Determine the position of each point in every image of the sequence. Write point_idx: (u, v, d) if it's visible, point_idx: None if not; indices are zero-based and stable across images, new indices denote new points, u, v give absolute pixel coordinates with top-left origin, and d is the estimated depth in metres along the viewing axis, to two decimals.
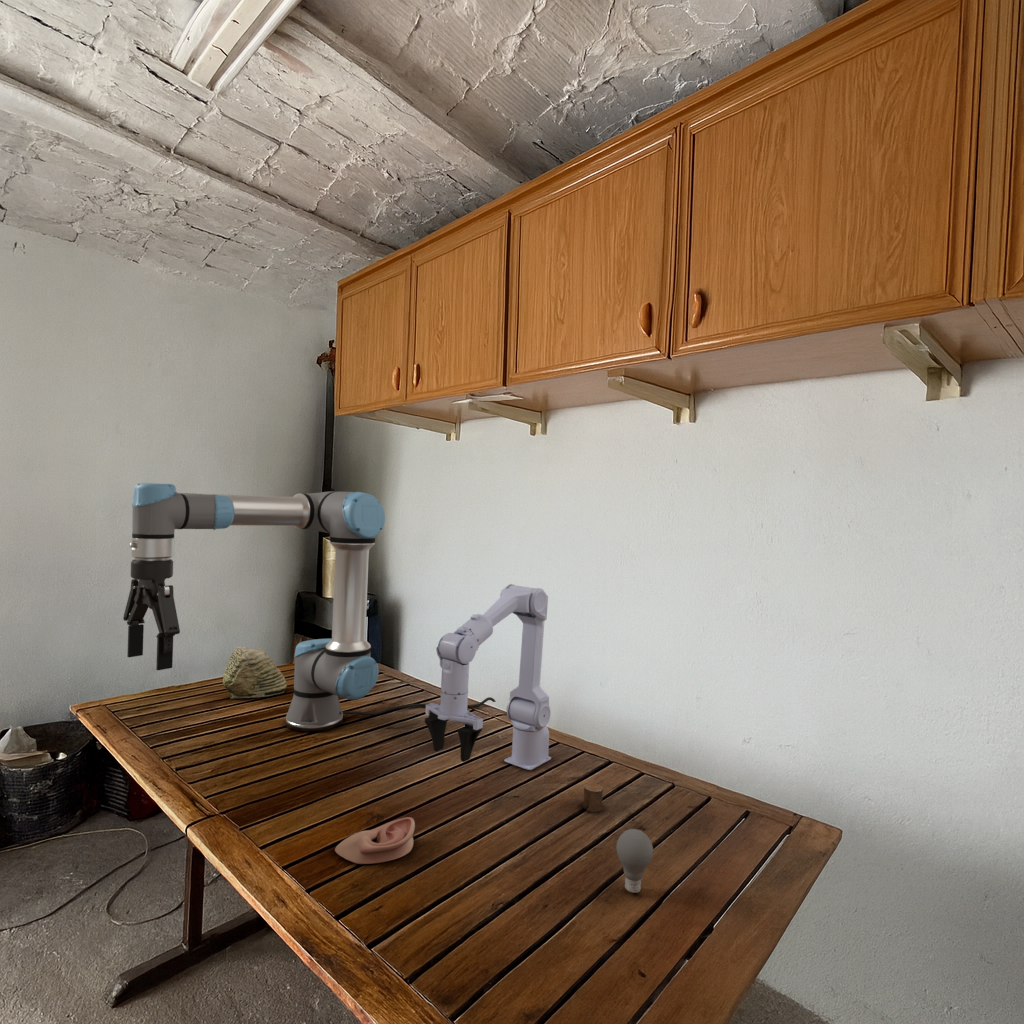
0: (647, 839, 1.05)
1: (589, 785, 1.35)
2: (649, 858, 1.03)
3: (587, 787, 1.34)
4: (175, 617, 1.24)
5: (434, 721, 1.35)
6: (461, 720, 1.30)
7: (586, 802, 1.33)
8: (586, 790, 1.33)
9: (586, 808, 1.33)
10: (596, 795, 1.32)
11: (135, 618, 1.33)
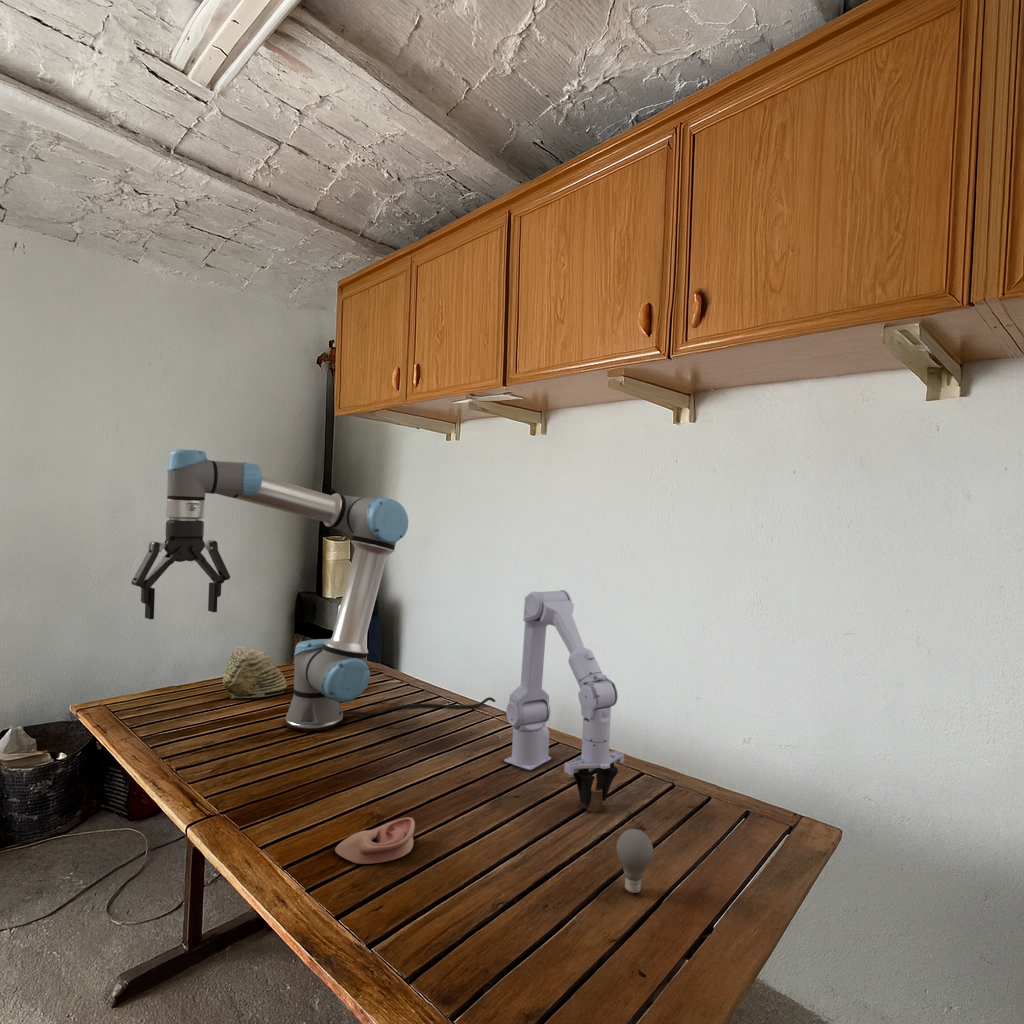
0: (647, 839, 1.05)
1: None
2: (649, 858, 1.03)
3: None
4: None
5: None
6: (614, 760, 1.34)
7: None
8: None
9: (586, 808, 1.33)
10: (596, 795, 1.32)
11: None
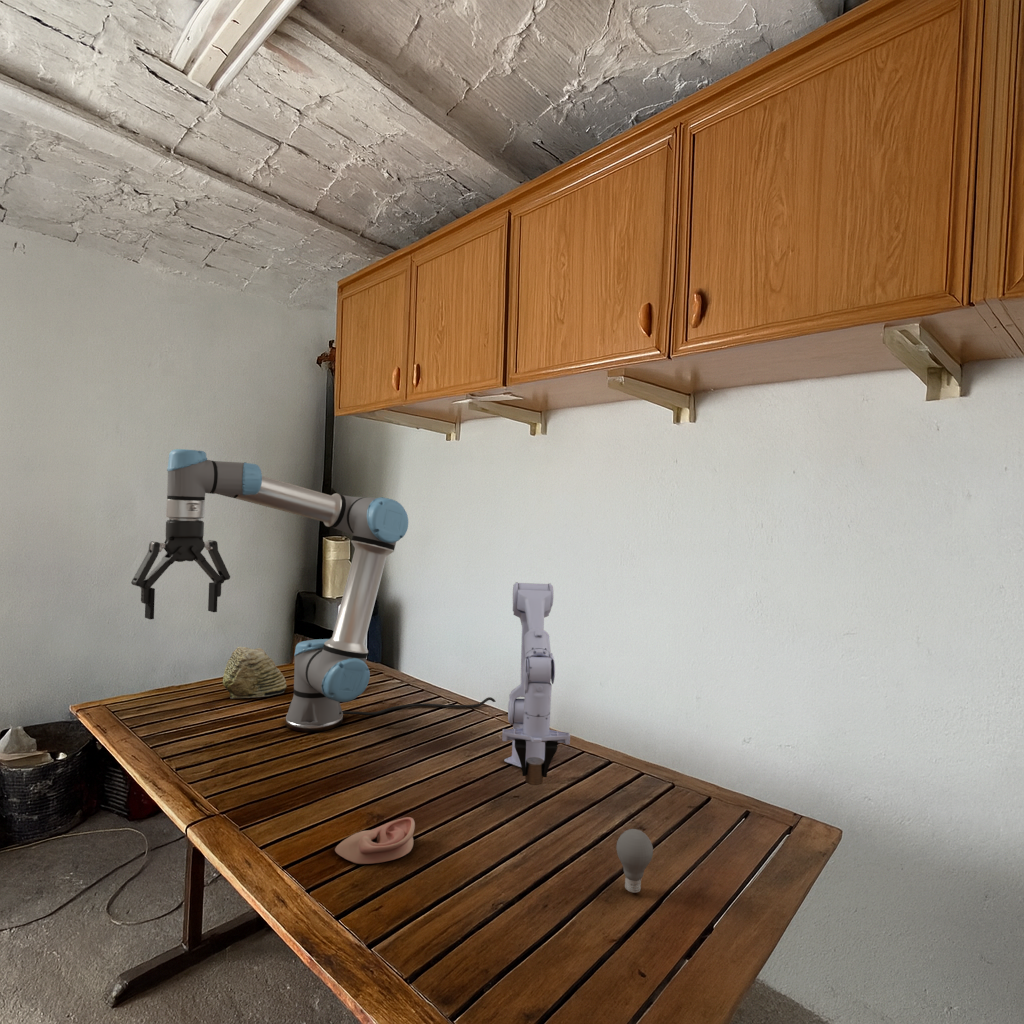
0: (647, 839, 1.05)
1: (533, 758, 1.38)
2: (649, 858, 1.03)
3: (528, 759, 1.37)
4: None
5: (525, 746, 1.35)
6: (554, 738, 1.35)
7: None
8: (526, 761, 1.37)
9: (525, 779, 1.36)
10: (532, 768, 1.35)
11: None
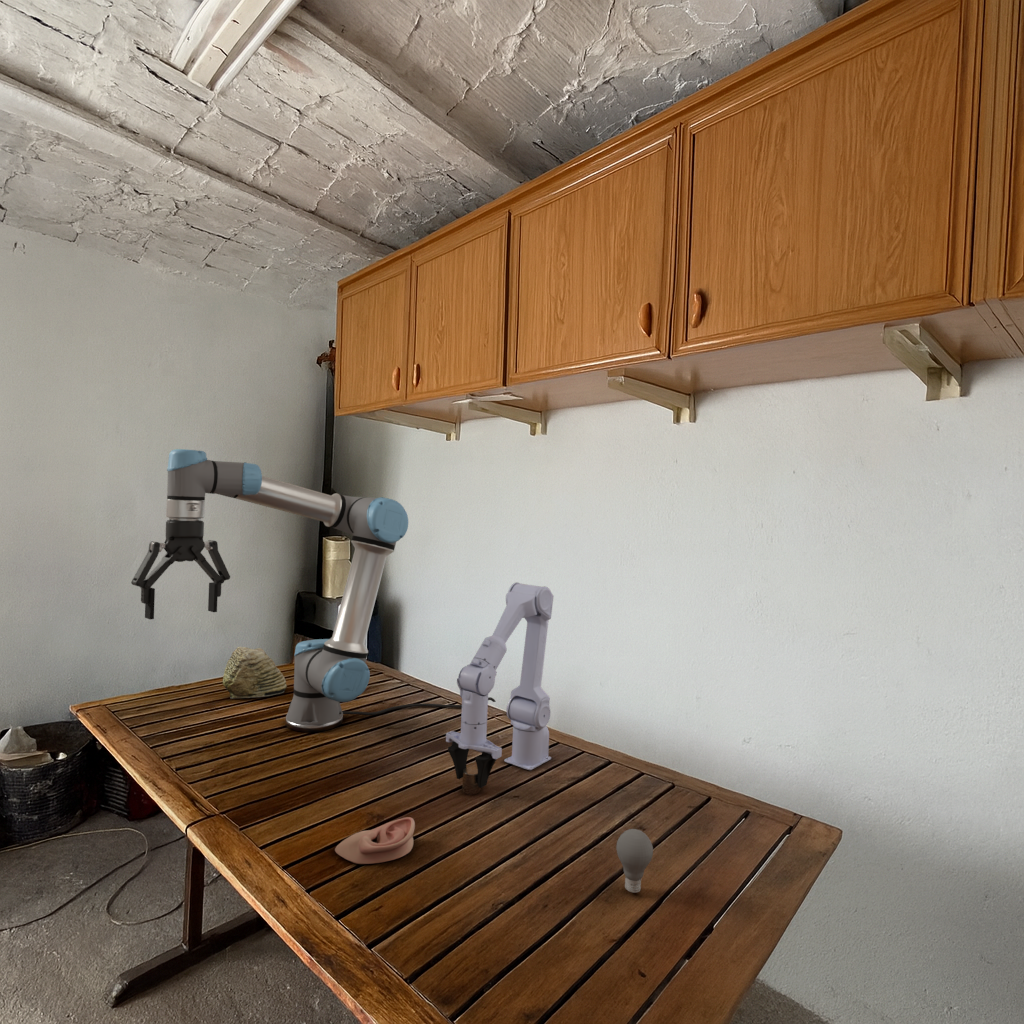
0: (647, 839, 1.05)
1: (473, 768, 1.40)
2: (649, 858, 1.03)
3: (468, 768, 1.41)
4: None
5: (456, 750, 1.40)
6: (481, 749, 1.36)
7: None
8: None
9: None
10: (464, 777, 1.38)
11: None
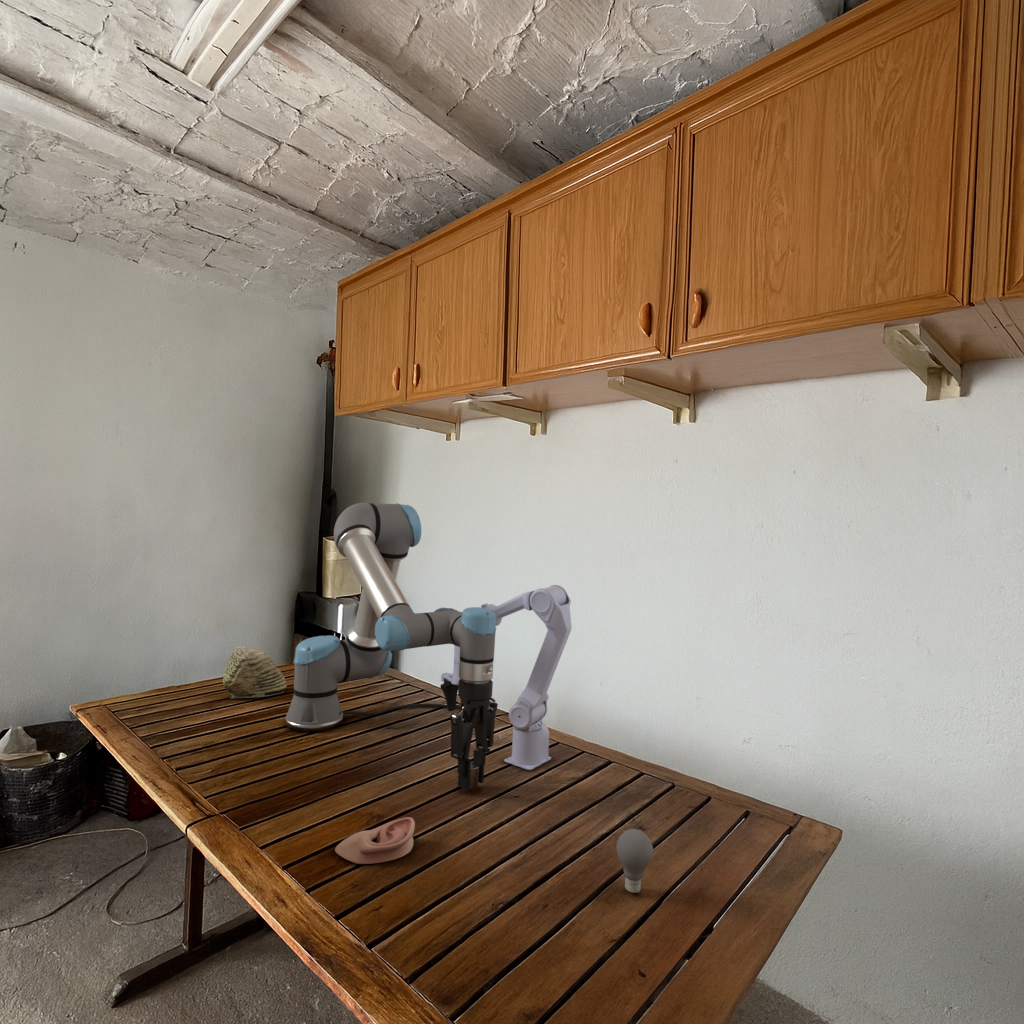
0: (647, 839, 1.05)
1: (472, 763, 1.41)
2: (649, 858, 1.03)
3: None
4: None
5: (448, 686, 1.66)
6: None
7: None
8: None
9: None
10: None
11: None
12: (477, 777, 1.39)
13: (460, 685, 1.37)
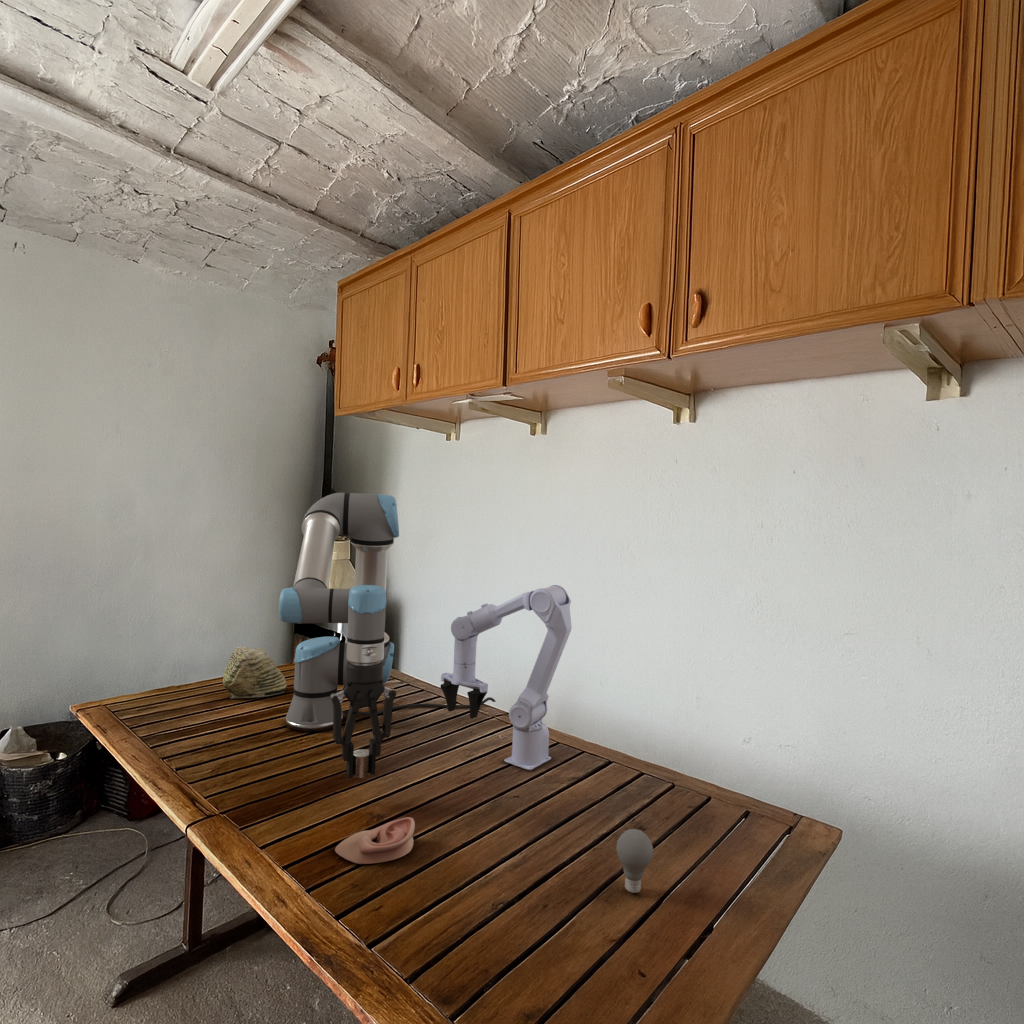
0: (647, 839, 1.05)
1: (365, 751, 1.32)
2: (649, 858, 1.03)
3: (361, 750, 1.33)
4: None
5: (448, 686, 1.66)
6: (470, 685, 1.61)
7: None
8: None
9: None
10: None
11: None
12: (364, 767, 1.30)
13: None
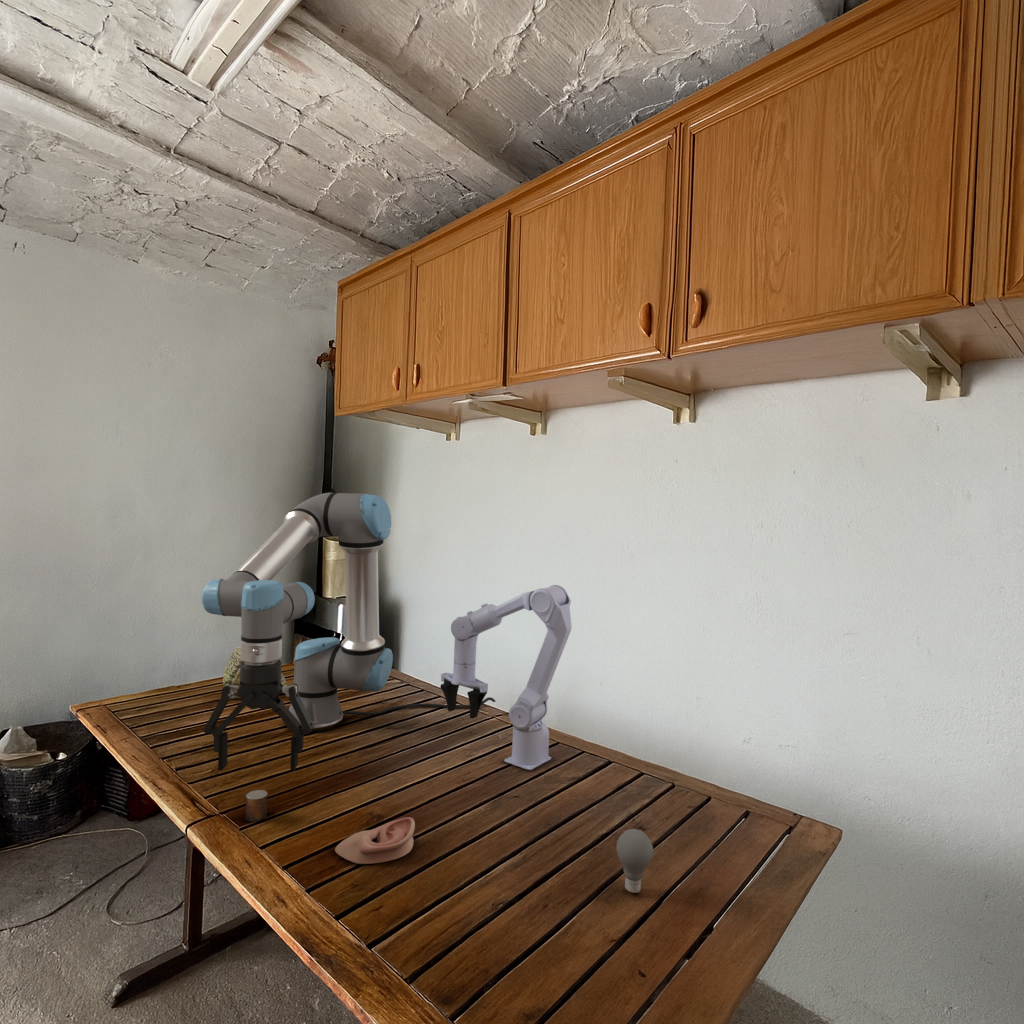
0: (647, 839, 1.05)
1: (262, 793, 1.25)
2: (649, 858, 1.03)
3: (260, 791, 1.26)
4: (307, 713, 1.26)
5: (448, 686, 1.66)
6: (470, 685, 1.61)
7: None
8: None
9: None
10: None
11: None
12: (255, 810, 1.23)
13: None
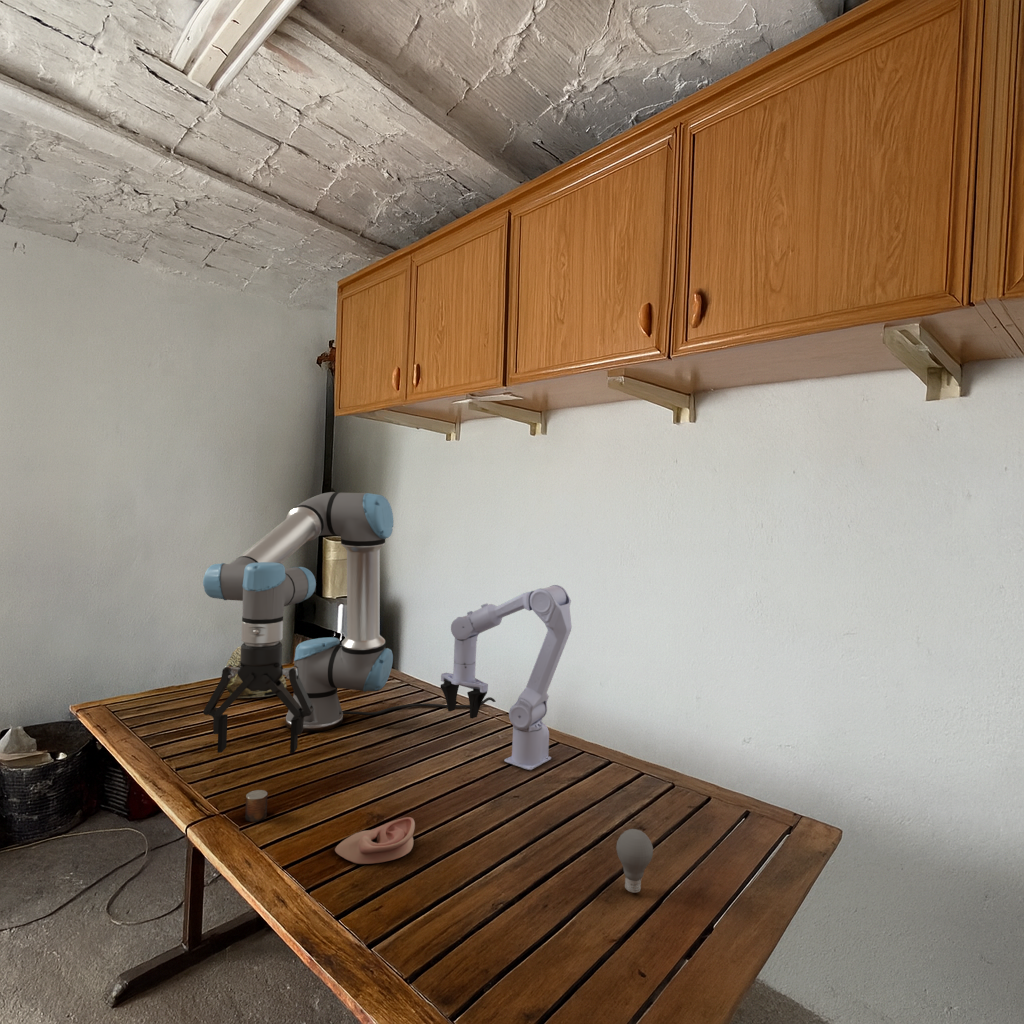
0: (647, 839, 1.05)
1: (262, 793, 1.25)
2: (649, 858, 1.03)
3: (260, 791, 1.26)
4: (307, 696, 1.25)
5: (448, 686, 1.66)
6: (470, 685, 1.61)
7: None
8: None
9: None
10: None
11: None
12: (255, 810, 1.23)
13: None
